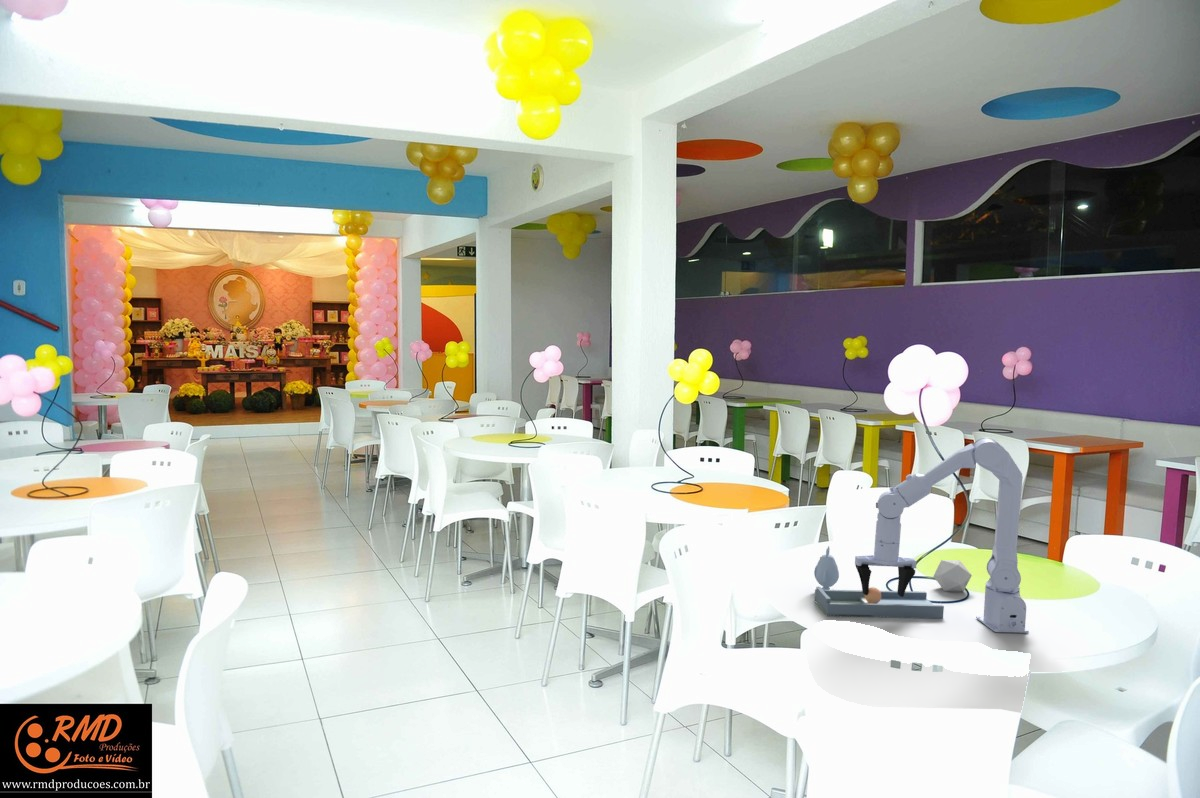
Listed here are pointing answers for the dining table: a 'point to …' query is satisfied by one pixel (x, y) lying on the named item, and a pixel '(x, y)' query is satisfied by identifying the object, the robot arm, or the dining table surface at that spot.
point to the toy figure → (826, 571)
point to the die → (952, 575)
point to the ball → (873, 595)
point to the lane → (877, 604)
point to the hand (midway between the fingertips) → (883, 594)
